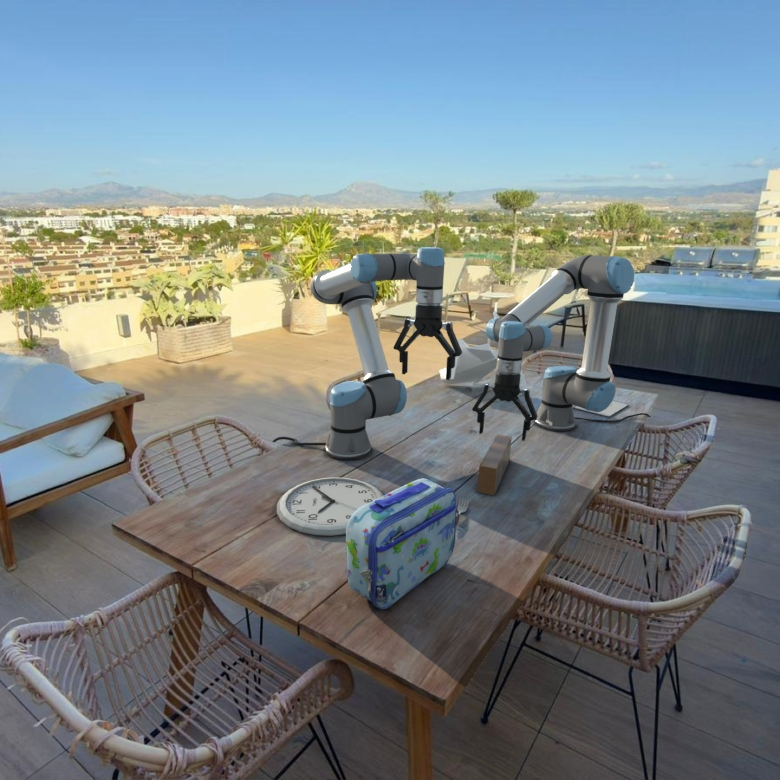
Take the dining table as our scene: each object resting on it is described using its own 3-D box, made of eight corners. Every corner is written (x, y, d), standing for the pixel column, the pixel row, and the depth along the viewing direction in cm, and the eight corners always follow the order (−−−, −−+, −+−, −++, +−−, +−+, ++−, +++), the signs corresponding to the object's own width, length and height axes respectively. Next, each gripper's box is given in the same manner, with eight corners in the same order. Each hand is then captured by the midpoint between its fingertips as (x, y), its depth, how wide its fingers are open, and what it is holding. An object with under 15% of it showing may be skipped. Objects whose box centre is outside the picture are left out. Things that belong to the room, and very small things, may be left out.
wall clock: (392, 527, 129) (268, 531, 127) (391, 533, 130) (269, 537, 127) (383, 473, 158) (282, 475, 155) (383, 478, 158) (282, 480, 156)
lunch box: (375, 622, 100) (376, 527, 94) (339, 595, 108) (338, 505, 101) (459, 565, 118) (465, 481, 112) (424, 545, 125) (427, 465, 119)
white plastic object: (461, 429, 252) (437, 405, 227) (444, 352, 274) (420, 323, 250) (535, 404, 240) (518, 377, 215) (510, 326, 262) (492, 293, 237)
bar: (494, 457, 174) (496, 434, 172) (509, 460, 173) (511, 436, 170) (477, 491, 151) (479, 465, 149) (494, 495, 150) (496, 468, 147)
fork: (445, 533, 130) (445, 526, 130) (459, 503, 145) (460, 496, 144) (455, 535, 130) (456, 528, 129) (469, 504, 144) (469, 498, 143)
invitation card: (608, 416, 214) (573, 407, 224) (608, 416, 214) (573, 408, 224) (628, 404, 229) (594, 396, 238) (628, 405, 229) (594, 397, 238)
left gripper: (383, 302, 149) (382, 374, 156) (469, 308, 141) (464, 384, 147) (393, 299, 156) (391, 368, 162) (475, 305, 147) (470, 377, 154)
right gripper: (466, 369, 163) (461, 433, 169) (548, 379, 154) (540, 446, 160) (471, 364, 169) (466, 425, 176) (551, 374, 161) (543, 438, 167)
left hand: (426, 376), depth 155 cm, fingers open, 13 cm apart
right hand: (502, 435), depth 168 cm, fingers open, 13 cm apart
